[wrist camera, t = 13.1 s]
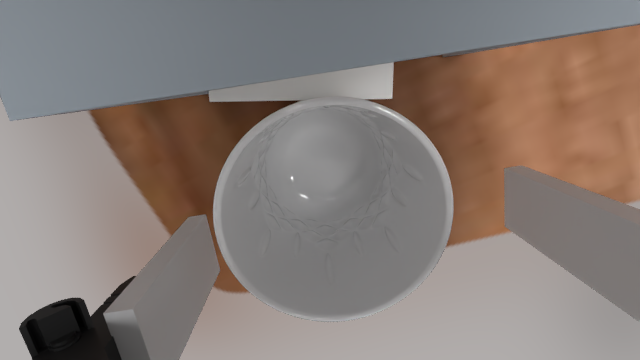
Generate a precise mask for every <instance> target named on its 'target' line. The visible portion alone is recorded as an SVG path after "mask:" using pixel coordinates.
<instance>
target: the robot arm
mask: <svg viewBox="0 0 640 360" xmlns="http://www.w3.org/2000/svg"><path fill="white" fill-rule="evenodd" d="M504 185H505V227H506V228H508V229H509V230H511V231H512V232H513V233H515V234H516V235H518V236H519V237H521V238H522V239H523V240H525V241H526V242H527V243H529V244H531V245H532V246H533V247H535V248H536V249H537V250H539V251H540V252H542V253H543V254H544V255H546V256H547V257H549V258H550V259H551V260H553V261H554V262H556V263H557V264H559V265H560V266H561V267H563V268H564V269H565V270H567V271H568V272H570V273H571V274H572V275H574V276H575V277H577V278H578V279H580V280H581V281H582V282H584V283H585V284H587V285H588V286H589V287H591V288H593V289H594V290H595V291H596V292H598V293H599V294H601V295H602V296H604V297H605V298H606V299H608V300H609V301H610V302H612V303H614V304H615V305H616V306H618V307H619V308H621V309H622V310H623V311H625V312H626V313H627V314H629V315H630V316H632V317H633V318H635V319H636V320H637V321H639V322H640V209H637V208H634V207H632V206H629V205H626V204H624V203H621V202H618V201H616V200H613V199H610V198H608V197H605V196H602V195H600V194H597V193H594V192H591V191H589V190H586V189H583V188H581V187H578V186H575V185H573V184H570V183H567V182H565V181H562V180H559V179H557V178H554V177H551V176H549V175H546V174H543V173H541V172H538V171H535V170H533V169H530V168H527V167H525V166H515V167H509V168H504ZM219 272H220V268H219V264H218V260H217V256H216V252H215V248H214V244H213V240H212V236H211V232H210V228H209V224H208V221H207V217H206V214H205V215H198V216H192V217H188V218H187V219H186V220H185V222H184V223H183V224H182V225H181V226H180V227H179V228H178V230H177V231H176V232H175V233H174V234H173V235H172V236H171V237H170V239H169V240H168V241H167V242H166V243H165V244H164V245H163V246H162V248H161V249H160V250H159V251H158V252H157V253H156V254H155V256H154V257H153V258H152V259H151V260H150V261H149V262H148V264H147V265H146V266H145V267H144V268H143V269H142V270H141V271H140V273H139V274H138V275H137V276H133V277H132V278H130V279H128V280H127V281H125V282H124V283H122V284H121V285H120V286H119V287H118V288H117V289H116V290H115V291H114V292H113V293H112V294H111V297H109V298H108V299H107V300H106V301H105V302H104V304H103V305H101V306H100V307H99V308H98V309H97V310H96V312H95V313H94V314H93V315H92V316H91V317H90V315H89V312H88V309H87V307H86V304H85V302H84V300H82V299H81V298H69V299H64V300H61V301H58V302H55V303H52V304H50V305H48V306H45V307H43V308H42V309H39V310H38V311H36V312H35V313H33V314H31V315H30V316H29V317H27V318H26V319H25V320H24V321H23V322H22V323H21V326H20V328H19V330H20V332H21V334H22V336H23V339H24V341H25V343H26V345H27V348H28V350H29V352H30V354H31V356H32V360H179V358H180V356H181V354H182V352H183V350H184V348H185V346H186V343H187V341H188V339H189V337H190V335H191V333H192V330H193V328H194V326H195V324H196V322H197V319H198V317H199V315H200V313H201V311H202V309H203V306H204V304H205V302H206V300H207V298H208V296H209V293H210V291H211V289H212V287H213V285H214V283H215V280H216V278H217V276H218V274H219Z"/></svg>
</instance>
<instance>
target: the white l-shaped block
mask: <svg viewBox="0 0 640 360" xmlns="http://www.w3.org/2000/svg"><path fill="white" fill-rule="evenodd" d="M393 69H394V62H392V63H385V64H379V65H372V66H366V67H359V68H353V69H347V70H340V71H334V72H327V73H321V74H314V75H308V76H301V77H295V78H289V79H282V80H276V81H269V82H263V83H256V84H250V85H243V86H237V87H231V88H224V89H218V90H211V91H209V101H210V102H231V101H292V100H305V99H309V98H315V97H352V98H358V99H392V93H393Z"/></svg>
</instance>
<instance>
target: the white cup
mask: <svg viewBox="0 0 640 360" xmlns="http://www.w3.org/2000/svg"><path fill="white" fill-rule="evenodd" d="M452 221H453V193H452V186H451V182H450V178H449V175H448V172H447V169H446V166H445V164H444V162H443V160H442V158H441V156H440V154H439V152H438V151H437V149H436V148H435V146H434V145H433V143H432V142H431V141H430V140H429V138H428V137H427V136H426V135H425V134H424V133H423V132H422V131H421V130H420V129H419V128H418V127H417V126H416V125H415V124H413V123H412V122H411V121H410V120H408V119H407V118H405V117H404V116H402V115H401V114H399V113H397V112H396V111H394V110H392V109H390V108H388V107H385V106H383V105H380V104H378V103H375V102H371V101H368V100H364V99H358V98H352V97H315V98H309V99H305V100H302V101H298V102H296V103H293V104H291V105H289V106H287V107H284V108H282V109H280V110H278V111H276V112H274V113H272V114H271V115H269V116H267V117H266V118H264V119H263V120H262V121H260V122H259V123H258V124H256V125H255V126H254V127H253V128H252V129H250V130H249V131H248V132H247V133H246V134H245V135H244V136H243V137H242V139H241V140H240V141H239V142H238V143H237V145H236V146H235V147H234V149H233V150H232V152H231V153H230V155H229V156H228V158H227V160H226V162H225V164H224V166H223V168H222V170H221V173H220V176H219V178H218V182H217V185H216V190H215V195H214V203H213V222H214V229H215V235H216V239H217V242H218V245H219V248H220V251H221V253H222V256H223V258H224V260H225V262H226V263H227V265H228V267H229V269H230V270H231V272H232V273H233V274H234V276H235V277H236V278H237V280H238V281H239V282H240V283H241V284H242V285H243V286H244V287H245V288H246V289H247V290H248V291H249V292H250V293H251V294H252V295H254V296H255V297H256V298H258V299H259V300H260V301H262V302H263V303H265V304H267V305H268V306H270V307H272V308H274V309H276V310H278V311H280V312H283V313H285V314H288V315H291V316H294V317H297V318H301V319H306V320H312V321H321V322H338V321H349V320H355V319H359V318H363V317H367V316H370V315H373V314H376V313H378V312H381V311H383V310H385V309H387V308H389V307H391V306H393V305H395V304H396V303H398V302H400V301H401V300H403V299H404V298H406V297H407V296H408V295H409V294H411V293H412V292H413V291H414V290H415V289H416V288H417V287H419V286H420V284H422V283H423V281H424V280H425V279H426V278H427V277H428V275H429V274H430V273H431V272H432V270H433V269H434V268H435V266H436V264H437V263H438V261H439V259H440V258H441V256H442V254H443V252H444V249H445V247H446V244H447V242H448V239H449V235H450V231H451V227H452Z"/></svg>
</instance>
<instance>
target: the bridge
mask: <svg viewBox="0 0 640 360" xmlns="http://www.w3.org/2000/svg"><path fill="white" fill-rule="evenodd" d="M635 25H640V0H0V97H1V99H2V102H3V104H4V107H5V109H6V112H7V115H8V117H9V120H10V121H13V120H20V119H28V118H35V117H42V116H50V115H57V114H65V113H71V112H79V111H87V110H94V109H101V108H109V107H116V106H123V105H131V104H138V103H145V102H153V101H160V100H168V99H175V98H182V97H190V96H197V95H204V94H209V91H211V90H218V89H224V88H231V87H237V86H243V85H250V84H256V83H263V82H269V81H276V80H282V79H289V78H295V77H301V76H308V75H314V74H321V73H327V72H334V71H340V70H347V69H353V68H359V67H366V66H372V65H379V64H385V63H392V62H398V61H405V60H411V59H417V58H424V57H430V56H437V55H443V57H449V56H455V55H462V54H468V53H474V52H480V51H486V50H492V49H498V48H504V47H510V46H516V45H521V44H527V43H533V42H539V41H545V40H551V39H557V38H563V37H569V36H575V35H581V34H587V33H593V32H599V31H605V30H611V29H617V28H623V27H629V26H635Z"/></svg>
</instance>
